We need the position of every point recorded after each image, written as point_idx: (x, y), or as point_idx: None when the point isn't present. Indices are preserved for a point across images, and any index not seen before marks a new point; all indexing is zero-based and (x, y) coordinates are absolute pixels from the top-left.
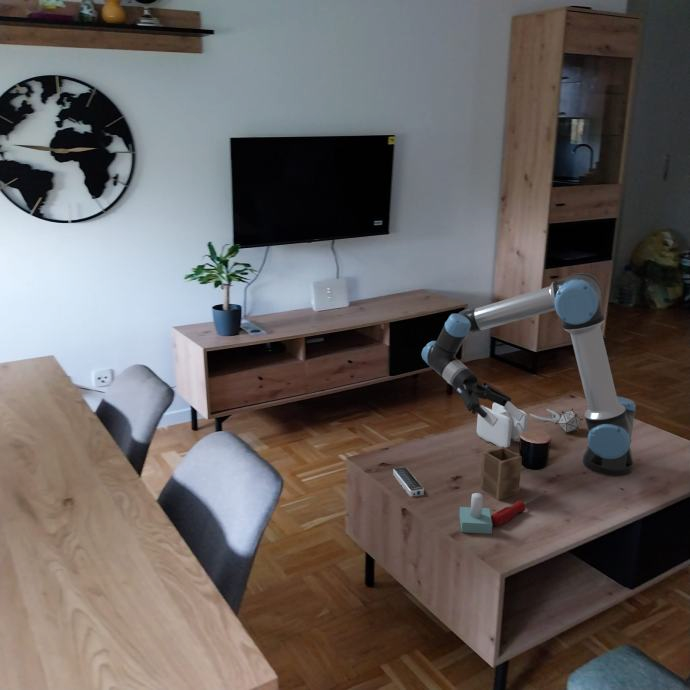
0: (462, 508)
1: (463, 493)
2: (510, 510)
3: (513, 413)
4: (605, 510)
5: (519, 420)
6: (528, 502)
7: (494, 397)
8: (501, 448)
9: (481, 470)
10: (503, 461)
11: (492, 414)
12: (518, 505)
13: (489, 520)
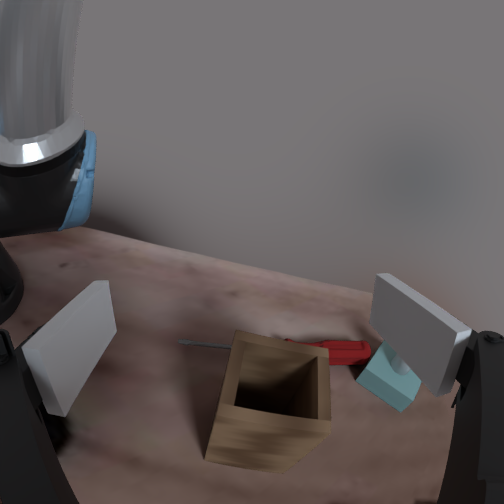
0: (411, 394)
1: (339, 478)
2: (331, 340)
3: (93, 342)
4: (153, 266)
5: (113, 324)
6: None
7: (56, 474)
8: (239, 408)
9: (302, 457)
10: (314, 350)
11: (401, 288)
12: (300, 343)
13: (386, 343)
